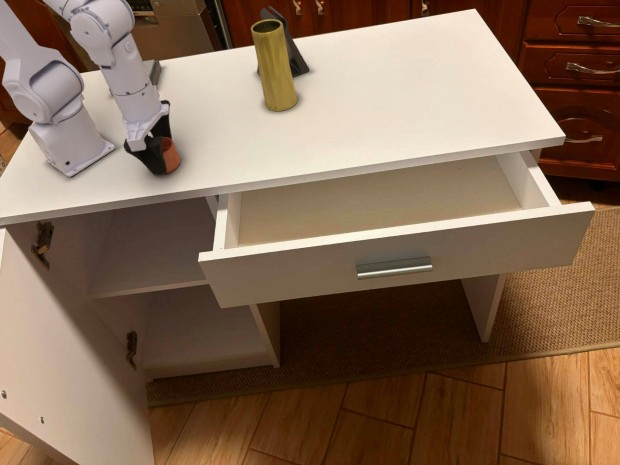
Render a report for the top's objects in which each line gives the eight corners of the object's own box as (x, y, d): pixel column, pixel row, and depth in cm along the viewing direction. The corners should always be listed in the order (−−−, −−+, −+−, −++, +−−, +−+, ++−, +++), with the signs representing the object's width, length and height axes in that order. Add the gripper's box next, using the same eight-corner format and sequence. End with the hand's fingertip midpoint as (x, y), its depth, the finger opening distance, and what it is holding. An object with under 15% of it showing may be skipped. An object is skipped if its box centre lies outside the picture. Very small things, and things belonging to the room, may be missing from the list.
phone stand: (268, 86, 92) (255, 25, 84) (257, 73, 96) (243, 14, 87) (309, 71, 94) (301, 10, 85) (297, 59, 98) (288, -1, 89)
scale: (112, 96, 97) (107, 85, 95) (121, 74, 103) (116, 63, 102) (155, 90, 97) (151, 78, 95) (161, 68, 103) (157, 56, 101)
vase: (293, 111, 85) (279, 34, 75) (261, 111, 87) (243, 35, 76) (300, 92, 89) (288, 16, 79) (269, 93, 91) (253, 18, 80)
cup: (163, 179, 77) (154, 160, 74) (145, 168, 80) (136, 149, 77) (187, 162, 79) (179, 143, 76) (169, 152, 82) (160, 133, 79)
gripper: (149, 108, 63) (182, 184, 73) (164, 56, 73) (191, 129, 83) (98, 116, 64) (137, 191, 74) (119, 63, 74) (152, 135, 83)
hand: (163, 159), depth 78 cm, fingers open, 7 cm apart
